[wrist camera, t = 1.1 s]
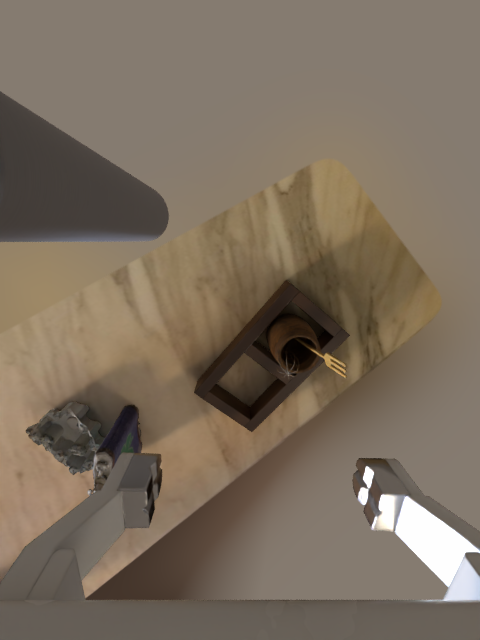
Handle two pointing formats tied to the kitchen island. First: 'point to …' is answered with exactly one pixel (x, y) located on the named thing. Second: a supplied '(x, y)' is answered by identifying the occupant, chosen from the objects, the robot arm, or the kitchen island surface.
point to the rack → (265, 360)
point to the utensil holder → (297, 346)
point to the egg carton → (69, 436)
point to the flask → (117, 445)
